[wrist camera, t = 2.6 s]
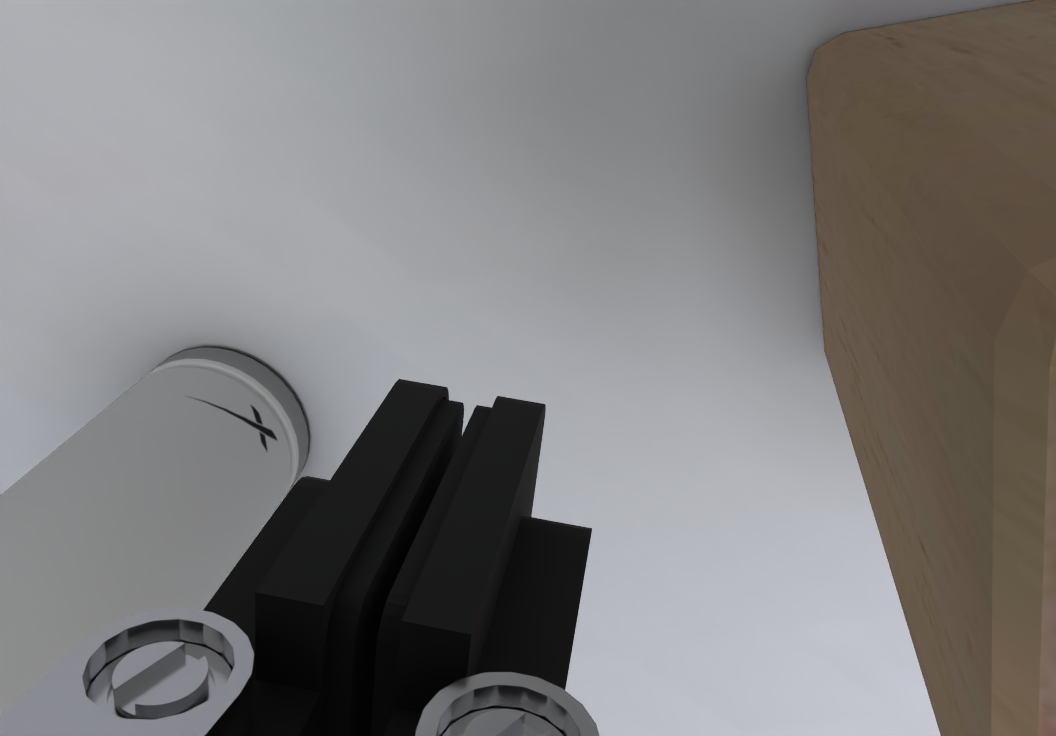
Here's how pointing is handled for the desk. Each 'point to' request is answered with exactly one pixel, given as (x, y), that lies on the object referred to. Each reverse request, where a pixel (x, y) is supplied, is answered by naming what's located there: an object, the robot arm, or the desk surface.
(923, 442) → the block
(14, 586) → the travel mug
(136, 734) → the robot arm
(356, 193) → the desk surface
